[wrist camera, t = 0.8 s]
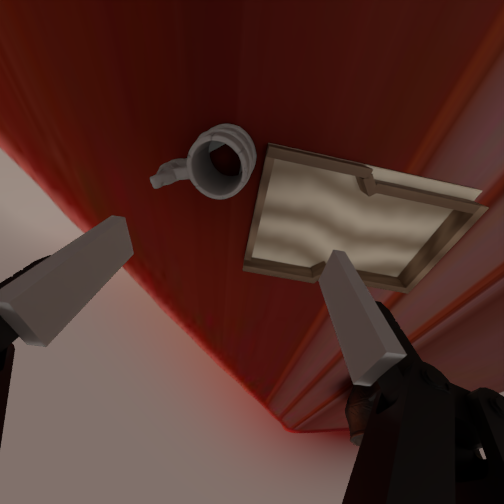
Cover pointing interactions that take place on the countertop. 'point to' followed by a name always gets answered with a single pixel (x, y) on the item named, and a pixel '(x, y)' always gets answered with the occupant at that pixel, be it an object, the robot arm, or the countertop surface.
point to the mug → (203, 169)
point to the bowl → (359, 410)
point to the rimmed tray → (353, 219)
